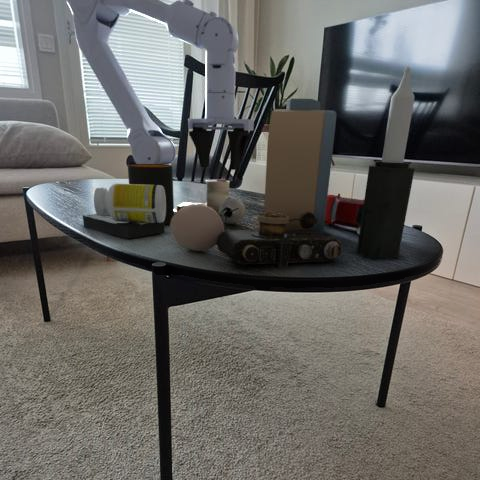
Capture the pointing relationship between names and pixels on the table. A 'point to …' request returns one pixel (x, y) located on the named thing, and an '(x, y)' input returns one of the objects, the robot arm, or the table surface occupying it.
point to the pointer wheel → (216, 192)
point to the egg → (196, 227)
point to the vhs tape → (122, 226)
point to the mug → (155, 181)
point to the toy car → (344, 211)
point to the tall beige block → (299, 161)
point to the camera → (279, 242)
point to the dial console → (194, 204)
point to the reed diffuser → (232, 211)
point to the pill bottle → (131, 203)
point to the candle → (389, 183)
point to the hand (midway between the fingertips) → (219, 168)
